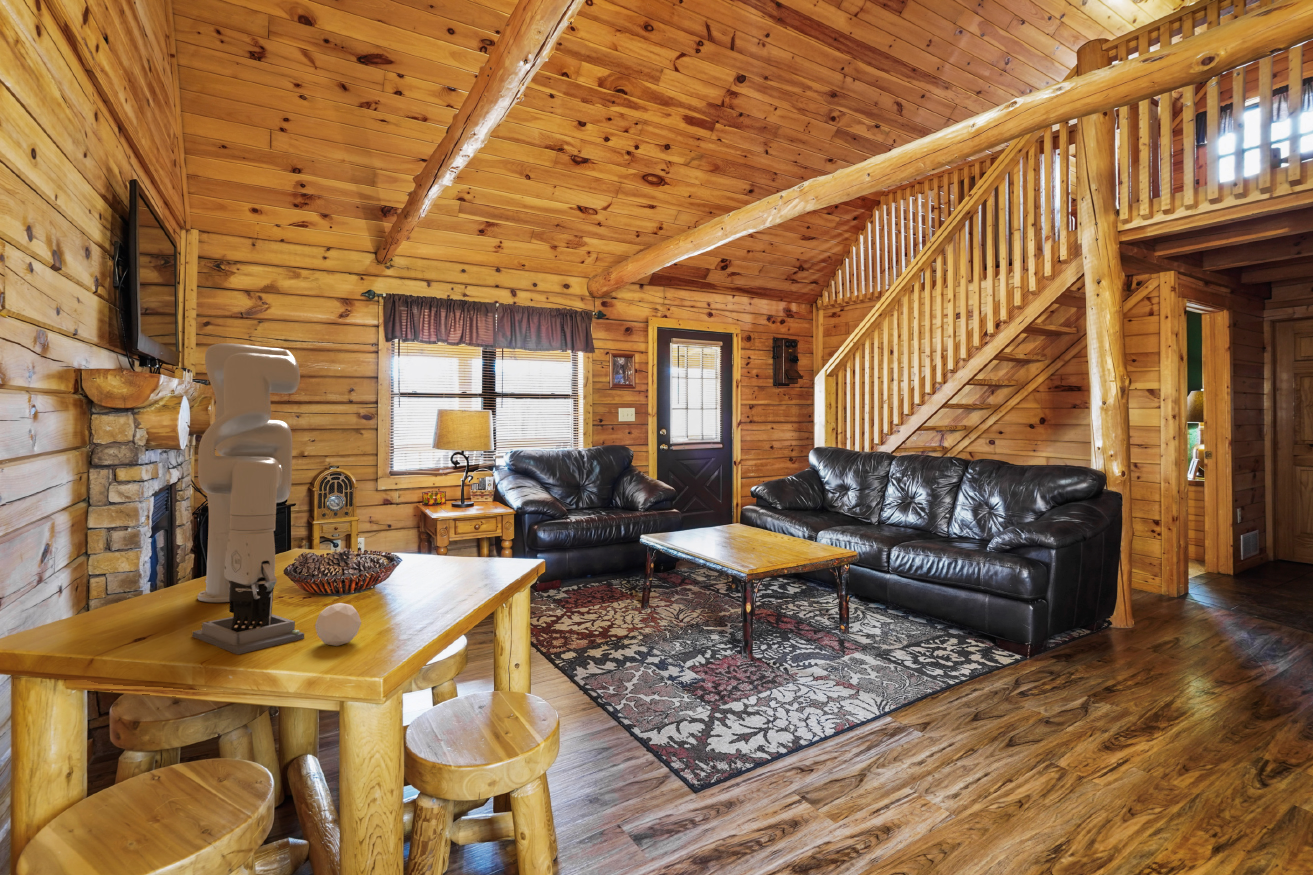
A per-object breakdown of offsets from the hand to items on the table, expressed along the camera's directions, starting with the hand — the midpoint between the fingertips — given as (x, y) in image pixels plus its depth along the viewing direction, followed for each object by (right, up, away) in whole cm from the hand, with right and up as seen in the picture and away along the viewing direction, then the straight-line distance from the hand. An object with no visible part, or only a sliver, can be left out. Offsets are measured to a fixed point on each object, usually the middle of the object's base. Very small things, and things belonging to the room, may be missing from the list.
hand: (249, 614), depth 125 cm
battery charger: (0, -4, 0) cm, 4 cm away
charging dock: (0, -5, 0) cm, 5 cm away
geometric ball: (+18, -5, -2) cm, 19 cm away
